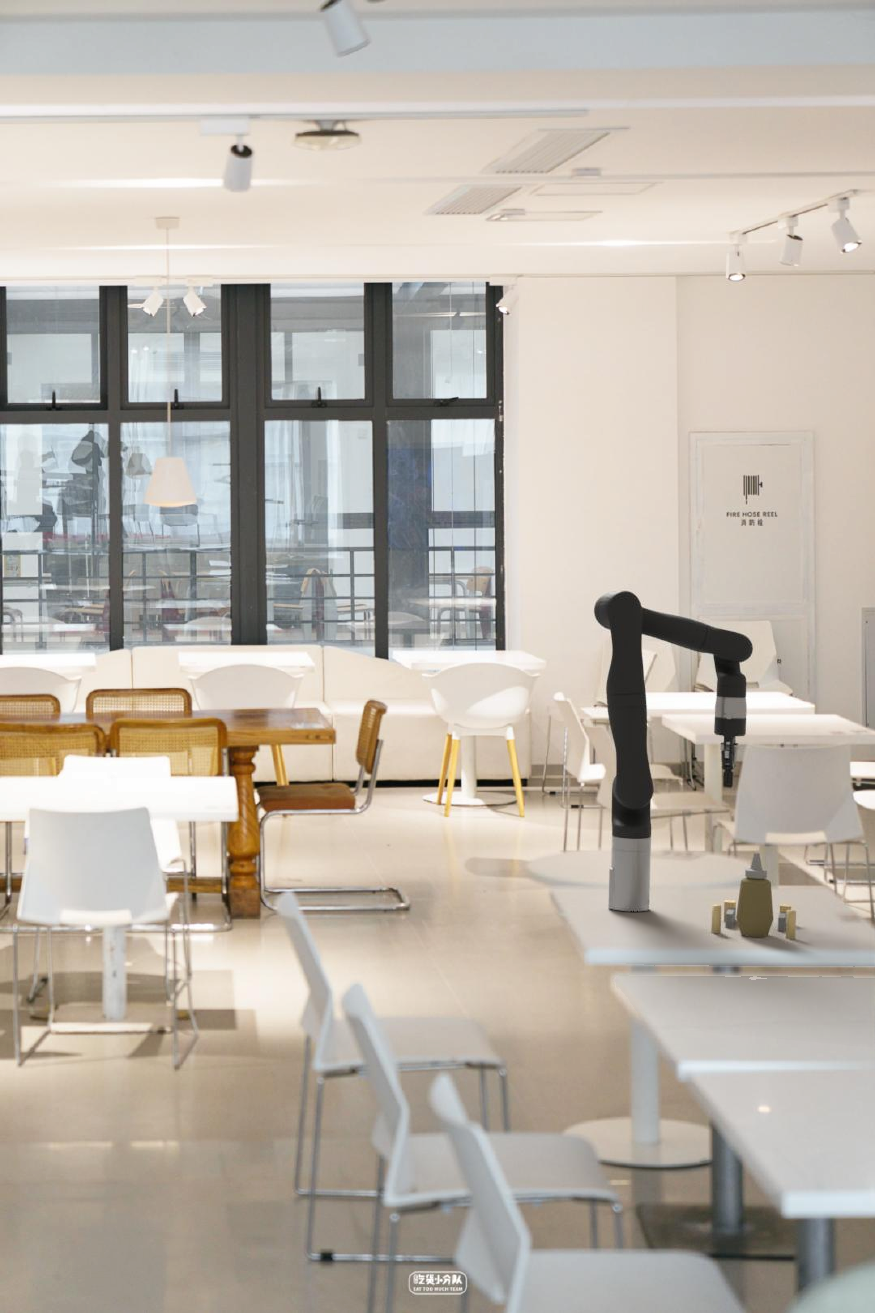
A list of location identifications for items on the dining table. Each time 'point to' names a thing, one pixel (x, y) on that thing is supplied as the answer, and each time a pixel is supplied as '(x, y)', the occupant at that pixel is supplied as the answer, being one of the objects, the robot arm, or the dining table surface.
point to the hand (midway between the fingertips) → (728, 787)
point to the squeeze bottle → (755, 901)
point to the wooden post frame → (784, 920)
